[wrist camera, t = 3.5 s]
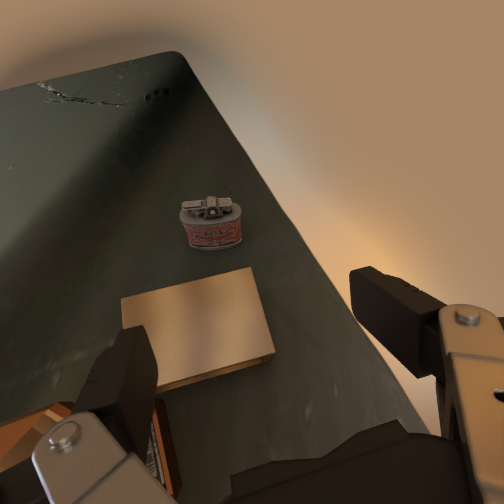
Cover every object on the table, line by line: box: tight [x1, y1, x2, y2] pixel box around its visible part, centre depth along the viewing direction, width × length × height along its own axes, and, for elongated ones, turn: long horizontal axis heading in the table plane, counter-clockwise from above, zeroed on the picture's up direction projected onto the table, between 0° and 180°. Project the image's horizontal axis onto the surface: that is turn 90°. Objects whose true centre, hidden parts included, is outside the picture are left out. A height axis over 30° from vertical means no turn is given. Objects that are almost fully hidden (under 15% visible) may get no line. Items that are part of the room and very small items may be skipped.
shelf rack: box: [121, 267, 275, 394], centre depth 35 cm, size 15×10×8 cm, turn 105°
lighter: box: [180, 196, 242, 250], centre depth 41 cm, size 8×3×10 cm, turn 97°
